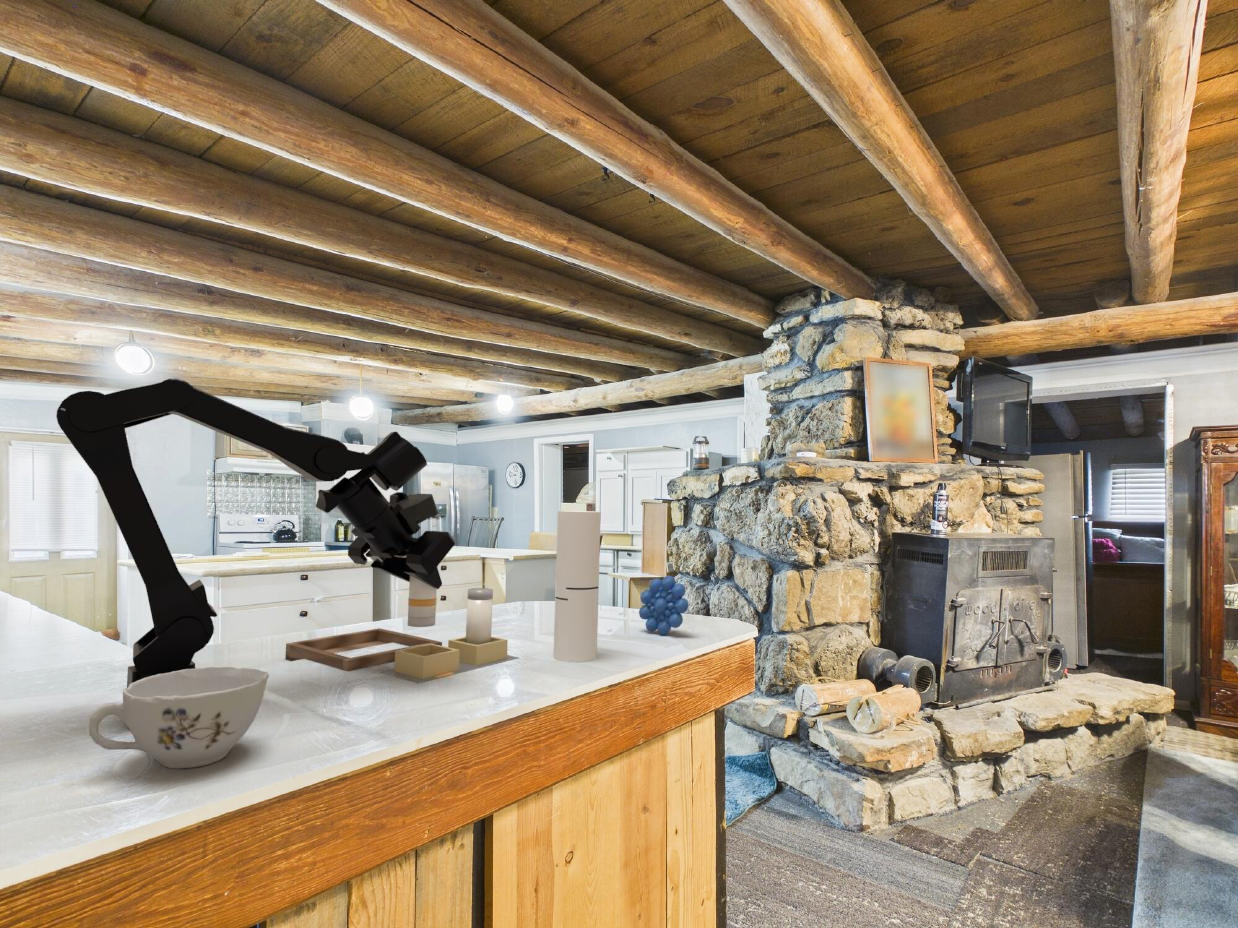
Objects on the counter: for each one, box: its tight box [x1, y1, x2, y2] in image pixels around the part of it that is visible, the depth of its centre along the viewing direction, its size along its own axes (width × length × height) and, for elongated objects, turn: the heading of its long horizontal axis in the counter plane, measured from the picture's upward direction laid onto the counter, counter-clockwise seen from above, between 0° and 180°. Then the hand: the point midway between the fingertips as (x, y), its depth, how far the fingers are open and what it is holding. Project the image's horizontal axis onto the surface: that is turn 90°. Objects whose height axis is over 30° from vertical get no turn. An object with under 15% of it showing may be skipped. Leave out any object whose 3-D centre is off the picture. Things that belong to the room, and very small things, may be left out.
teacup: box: [88, 666, 270, 769], centre depth 68 cm, size 15×12×8 cm
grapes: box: [638, 575, 689, 636], centre depth 138 cm, size 12×7×12 cm, turn 53°
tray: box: [284, 628, 443, 672], centre depth 112 cm, size 17×17×2 cm
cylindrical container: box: [553, 510, 602, 664], centre depth 113 cm, size 7×7×25 cm
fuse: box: [465, 587, 494, 645], centre depth 110 cm, size 4×4×11 cm
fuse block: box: [379, 635, 520, 684], centre depth 105 cm, size 20×9×4 cm, turn 144°
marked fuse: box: [407, 565, 439, 628], centre depth 103 cm, size 4×4×11 cm
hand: (430, 585), depth 104 cm, fingers closed on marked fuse, 4 cm apart
